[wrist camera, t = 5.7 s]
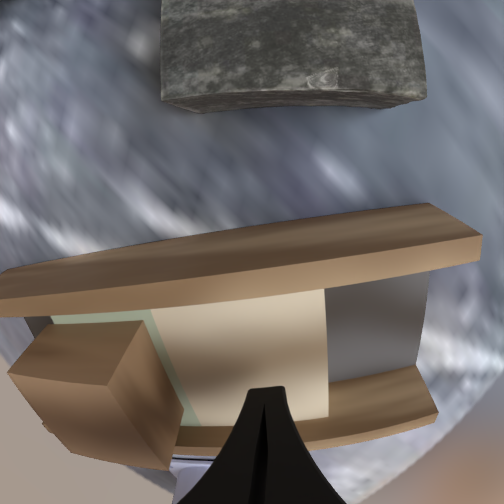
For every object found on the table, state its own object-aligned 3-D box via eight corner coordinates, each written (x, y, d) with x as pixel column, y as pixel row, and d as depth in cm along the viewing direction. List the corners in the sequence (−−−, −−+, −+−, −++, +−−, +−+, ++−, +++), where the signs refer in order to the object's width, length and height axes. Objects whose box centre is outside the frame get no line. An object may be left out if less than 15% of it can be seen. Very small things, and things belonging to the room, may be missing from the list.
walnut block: (184, 409, 15) (168, 470, 11) (95, 403, 15) (71, 452, 12) (143, 319, 12) (107, 385, 9) (48, 324, 13) (6, 372, 9)
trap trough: (411, 371, 17) (434, 422, 13) (72, 392, 20) (49, 432, 15) (428, 202, 13) (482, 234, 9) (7, 269, 15) (-36, 302, 11)
